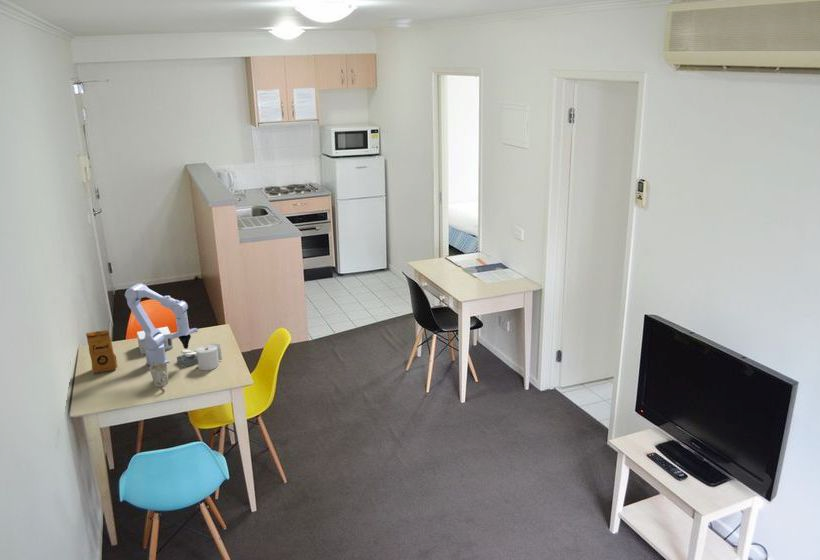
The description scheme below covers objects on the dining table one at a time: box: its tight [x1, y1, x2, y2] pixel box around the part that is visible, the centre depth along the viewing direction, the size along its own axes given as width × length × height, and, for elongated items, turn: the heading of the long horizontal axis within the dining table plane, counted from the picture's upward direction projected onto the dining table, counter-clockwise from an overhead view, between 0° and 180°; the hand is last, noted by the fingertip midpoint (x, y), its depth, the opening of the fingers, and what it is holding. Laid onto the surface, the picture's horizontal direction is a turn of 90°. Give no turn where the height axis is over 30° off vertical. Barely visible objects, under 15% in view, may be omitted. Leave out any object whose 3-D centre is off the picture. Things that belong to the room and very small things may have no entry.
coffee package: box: [85, 329, 118, 374], centre depth 343 cm, size 10×12×22 cm
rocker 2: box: [185, 352, 197, 357], centre depth 351 cm, size 6×3×1 cm, turn 134°
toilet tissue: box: [195, 343, 223, 371], centre depth 347 cm, size 11×12×10 cm
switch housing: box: [176, 350, 198, 368], centre depth 353 cm, size 11×9×5 cm
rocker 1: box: [180, 349, 195, 355], centre depth 354 cm, size 6×3×1 cm, turn 134°
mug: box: [149, 363, 170, 388], centre depth 326 cm, size 8×13×10 cm, turn 51°
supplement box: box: [136, 326, 174, 355], centre depth 371 cm, size 17×13×9 cm
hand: (185, 348), depth 348 cm, fingers closed
